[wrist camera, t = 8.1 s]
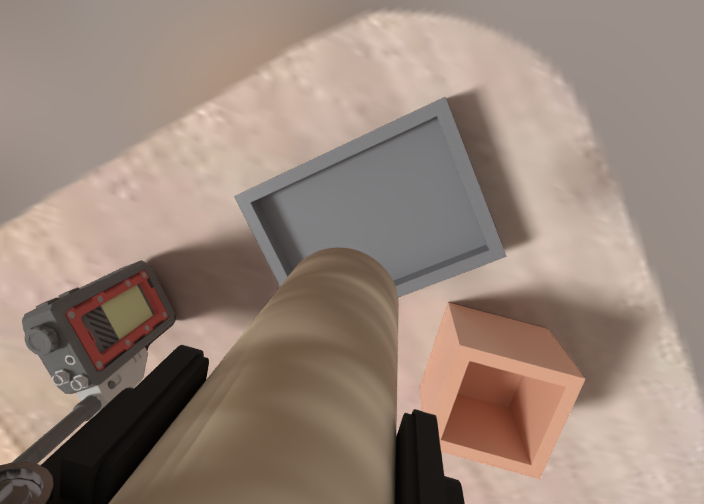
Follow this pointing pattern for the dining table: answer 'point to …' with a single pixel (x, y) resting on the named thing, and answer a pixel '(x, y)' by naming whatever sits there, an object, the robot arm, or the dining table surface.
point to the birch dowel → (292, 400)
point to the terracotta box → (498, 390)
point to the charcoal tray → (381, 204)
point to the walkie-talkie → (96, 342)
